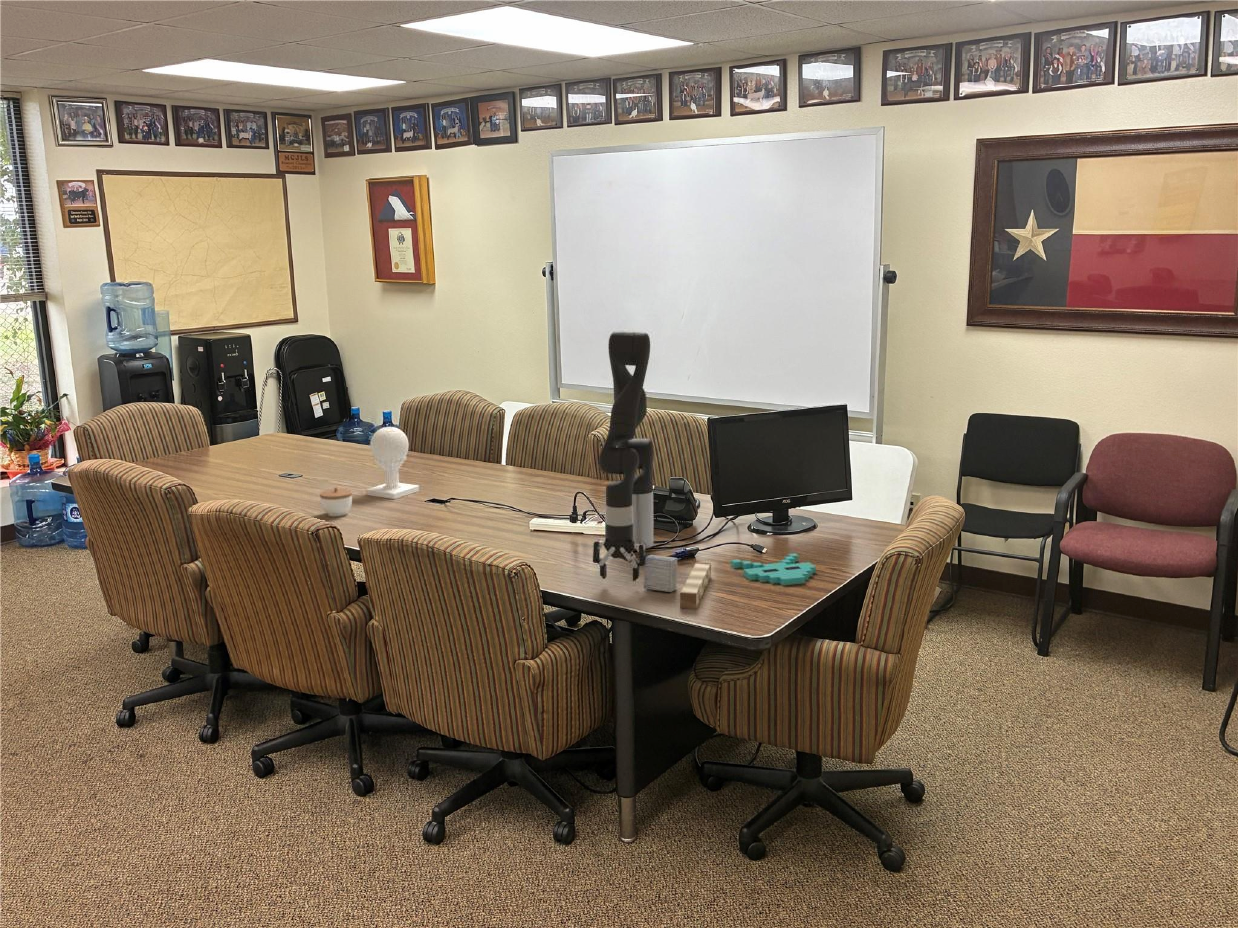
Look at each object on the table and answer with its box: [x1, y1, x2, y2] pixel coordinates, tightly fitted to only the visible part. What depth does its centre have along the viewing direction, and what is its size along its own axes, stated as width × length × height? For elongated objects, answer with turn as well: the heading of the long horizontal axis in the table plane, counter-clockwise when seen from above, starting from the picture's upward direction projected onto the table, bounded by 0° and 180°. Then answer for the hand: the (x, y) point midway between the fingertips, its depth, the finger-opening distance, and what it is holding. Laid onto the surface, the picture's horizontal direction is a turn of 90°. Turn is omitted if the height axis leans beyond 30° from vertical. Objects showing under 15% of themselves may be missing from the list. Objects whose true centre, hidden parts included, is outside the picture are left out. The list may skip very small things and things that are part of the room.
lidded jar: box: [319, 487, 353, 517], centre depth 359 cm, size 11×11×9 cm
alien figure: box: [730, 552, 817, 587], centre depth 293 cm, size 20×2×20 cm
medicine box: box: [643, 554, 678, 593], centre depth 280 cm, size 8×4×9 cm, turn 65°
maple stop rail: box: [679, 561, 712, 610], centre depth 278 cm, size 26×4×4 cm, turn 167°
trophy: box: [365, 426, 420, 500], centre depth 385 cm, size 14×14×25 cm
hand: (619, 579), depth 282 cm, fingers open, 8 cm apart
